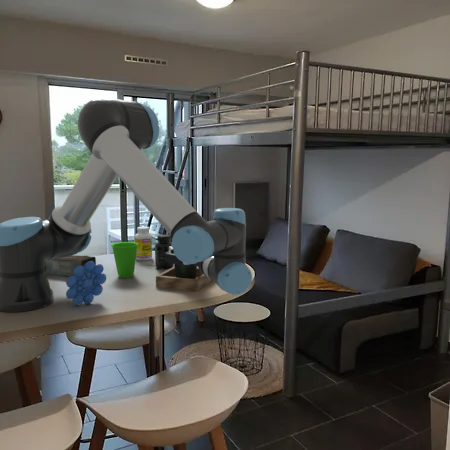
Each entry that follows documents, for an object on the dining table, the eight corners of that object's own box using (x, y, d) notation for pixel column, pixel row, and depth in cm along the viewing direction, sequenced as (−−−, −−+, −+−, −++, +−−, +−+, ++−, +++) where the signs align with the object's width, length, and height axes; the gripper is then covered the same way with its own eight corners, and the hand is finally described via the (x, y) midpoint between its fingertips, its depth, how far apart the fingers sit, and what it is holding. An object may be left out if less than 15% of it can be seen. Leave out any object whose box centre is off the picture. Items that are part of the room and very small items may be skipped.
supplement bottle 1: (141, 261, 168) (140, 229, 166) (132, 259, 172) (131, 227, 170) (155, 259, 172) (154, 227, 170) (145, 256, 177) (144, 225, 175)
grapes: (100, 295, 126) (98, 255, 124) (111, 301, 121) (109, 260, 119) (60, 304, 118) (58, 262, 117) (70, 311, 114) (68, 266, 112)
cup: (133, 280, 142) (131, 247, 141) (107, 278, 144) (106, 246, 142) (143, 273, 151) (142, 242, 149) (119, 271, 153) (118, 241, 151)
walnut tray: (156, 287, 135) (155, 276, 134) (175, 275, 148) (175, 265, 147) (197, 291, 130) (196, 280, 130) (213, 279, 143) (213, 269, 143)
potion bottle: (188, 275, 144) (187, 222, 142) (203, 280, 138) (203, 225, 136) (168, 279, 139) (167, 225, 136) (183, 285, 133) (182, 228, 130)
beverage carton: (53, 268, 158) (52, 251, 157) (97, 273, 152) (97, 255, 151) (37, 274, 150) (36, 255, 149) (83, 279, 144) (82, 260, 143)
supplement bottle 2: (177, 267, 159) (177, 235, 157) (163, 270, 154) (162, 237, 153) (166, 264, 164) (165, 233, 162) (151, 267, 159) (150, 235, 157)
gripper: (168, 284, 107) (151, 264, 126) (259, 274, 116) (230, 257, 135) (167, 254, 106) (150, 239, 125) (259, 247, 114) (230, 234, 134)
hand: (192, 249), depth 130 cm, fingers open, 13 cm apart
